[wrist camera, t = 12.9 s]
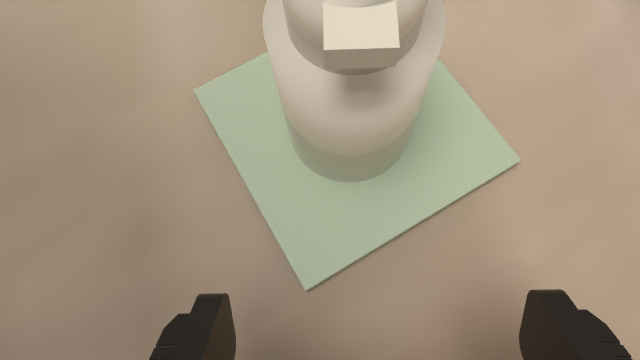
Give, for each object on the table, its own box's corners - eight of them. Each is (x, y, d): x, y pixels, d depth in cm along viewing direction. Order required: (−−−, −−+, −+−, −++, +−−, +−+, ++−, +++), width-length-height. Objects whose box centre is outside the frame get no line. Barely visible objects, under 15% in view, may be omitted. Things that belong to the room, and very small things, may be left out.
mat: (196, 95, 23) (192, 89, 23) (382, -1, 25) (384, -9, 24) (306, 292, 20) (305, 290, 19) (516, 164, 21) (521, 160, 21)
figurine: (414, 189, 20) (490, 44, 10) (288, 191, 21) (236, 52, 10) (402, 43, 23) (452, -188, 13) (291, 47, 23) (252, -178, 13)
